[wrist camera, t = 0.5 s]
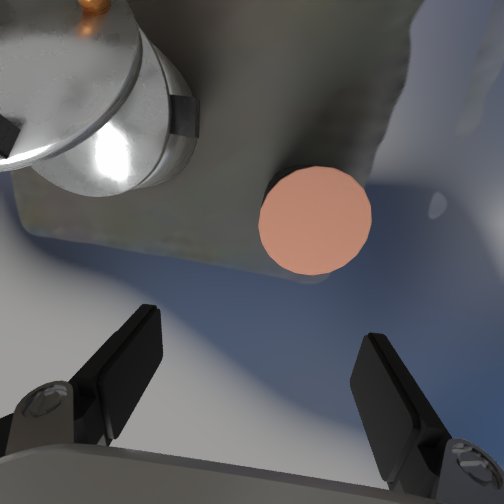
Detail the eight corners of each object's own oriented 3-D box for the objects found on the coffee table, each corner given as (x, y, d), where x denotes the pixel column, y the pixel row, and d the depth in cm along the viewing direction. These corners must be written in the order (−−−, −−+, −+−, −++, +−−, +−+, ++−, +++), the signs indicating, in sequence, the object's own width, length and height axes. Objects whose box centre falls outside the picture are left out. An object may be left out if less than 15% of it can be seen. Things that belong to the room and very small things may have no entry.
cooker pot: (45, 30, 34) (-67, -36, 23) (219, 48, 33) (192, -12, 22) (68, 178, 41) (-9, 183, 30) (212, 197, 40) (188, 209, 29)
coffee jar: (252, 208, 40) (237, 239, 24) (289, 151, 37) (302, 139, 20) (302, 242, 42) (322, 293, 25) (342, 190, 38) (398, 209, 21)
